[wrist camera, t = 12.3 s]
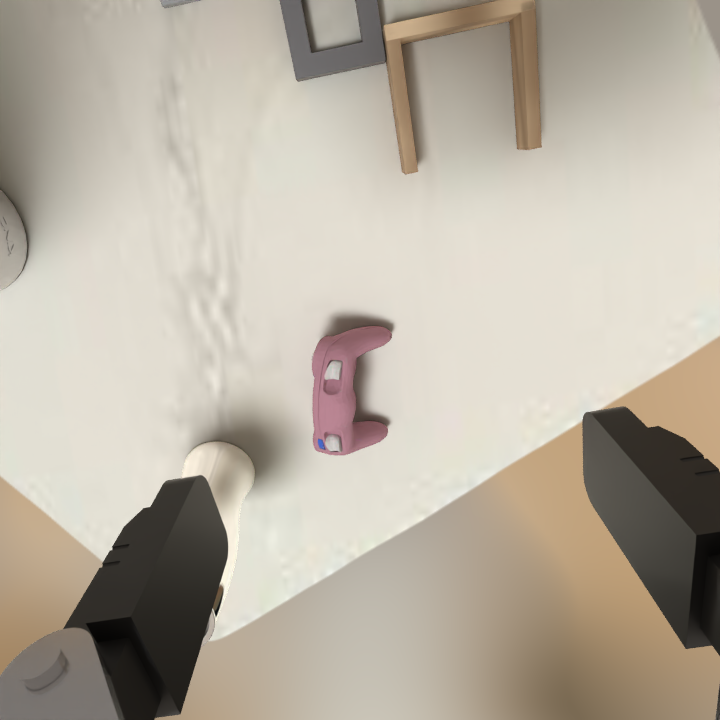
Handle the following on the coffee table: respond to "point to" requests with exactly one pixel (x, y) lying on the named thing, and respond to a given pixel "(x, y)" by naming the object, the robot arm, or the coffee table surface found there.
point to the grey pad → (175, 2)
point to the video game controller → (343, 391)
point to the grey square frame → (336, 58)
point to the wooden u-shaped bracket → (509, 7)
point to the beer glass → (223, 501)
